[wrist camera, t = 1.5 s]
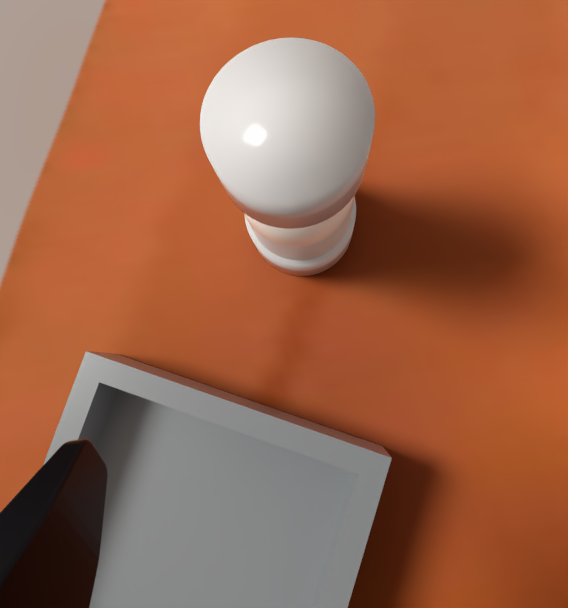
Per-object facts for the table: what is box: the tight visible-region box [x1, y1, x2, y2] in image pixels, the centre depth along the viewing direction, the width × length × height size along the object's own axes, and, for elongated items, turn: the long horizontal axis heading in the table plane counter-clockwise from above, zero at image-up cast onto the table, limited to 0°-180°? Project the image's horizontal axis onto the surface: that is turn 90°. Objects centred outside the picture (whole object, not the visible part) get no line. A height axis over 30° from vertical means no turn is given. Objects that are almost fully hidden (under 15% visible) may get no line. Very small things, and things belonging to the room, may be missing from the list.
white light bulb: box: [200, 38, 375, 276], centre depth 18 cm, size 5×5×10 cm
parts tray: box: [43, 351, 392, 608], centre depth 20 cm, size 13×13×3 cm
